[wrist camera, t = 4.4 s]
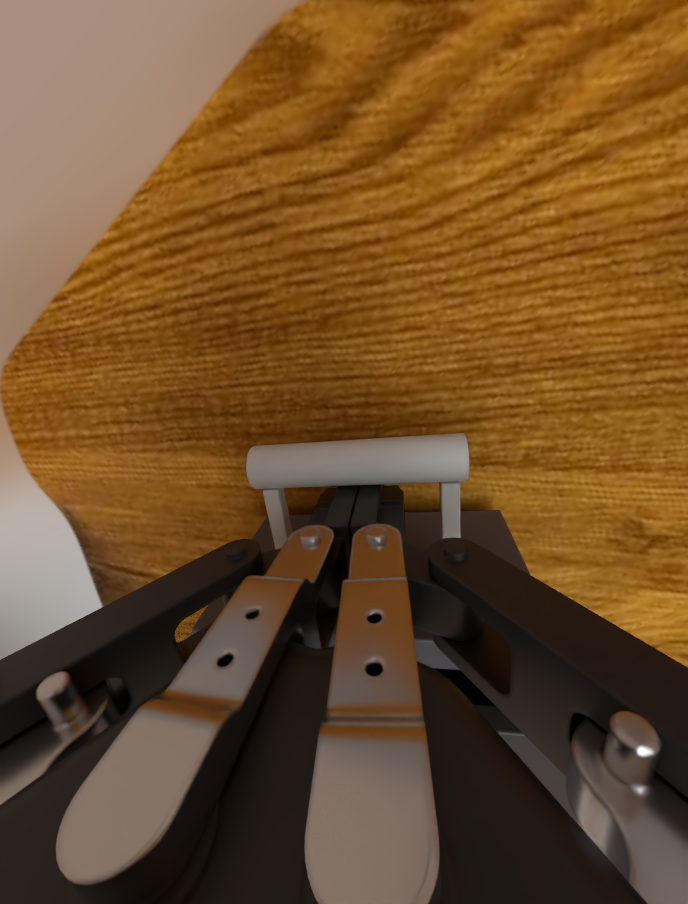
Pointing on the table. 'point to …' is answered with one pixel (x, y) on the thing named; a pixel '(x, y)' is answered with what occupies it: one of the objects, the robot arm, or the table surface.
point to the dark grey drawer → (373, 466)
